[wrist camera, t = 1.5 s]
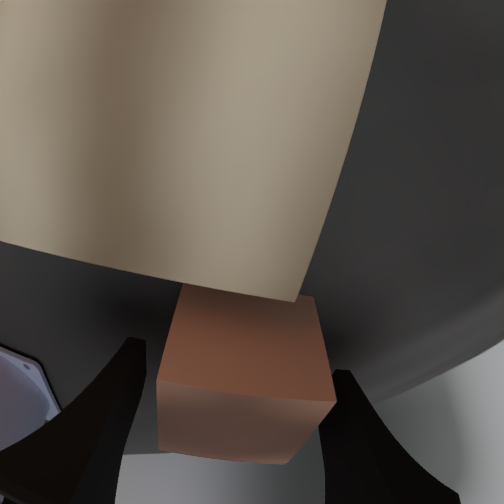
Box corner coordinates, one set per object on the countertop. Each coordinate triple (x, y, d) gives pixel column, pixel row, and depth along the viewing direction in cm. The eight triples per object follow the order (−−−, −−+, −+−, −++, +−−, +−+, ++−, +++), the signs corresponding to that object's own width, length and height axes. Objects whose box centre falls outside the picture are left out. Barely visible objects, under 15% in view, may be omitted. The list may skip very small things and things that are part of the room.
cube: (177, 357, 14) (158, 449, 10) (186, 273, 12) (156, 379, 8) (279, 372, 15) (285, 464, 11) (312, 295, 12) (337, 401, 8)
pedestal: (9, 199, 11) (-33, 231, 8) (47, -69, 5) (5, -87, 2) (286, 250, 12) (294, 302, 9) (367, -55, 6) (402, -88, 3)
